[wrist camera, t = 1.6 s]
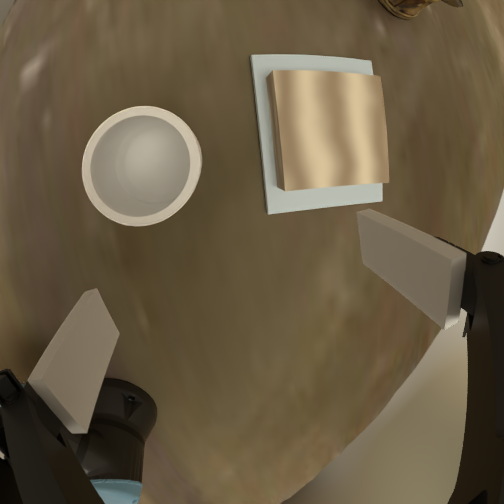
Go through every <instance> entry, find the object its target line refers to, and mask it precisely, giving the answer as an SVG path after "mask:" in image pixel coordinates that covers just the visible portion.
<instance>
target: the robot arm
mask: <svg viewBox="0 0 504 504" xmlns="http://www.w3.org/2000/svg"><path fill="white" fill-rule="evenodd" d="M356 213H357V220H358V228H359V236H360V245H361V254H362V263H363V264H364V265H366V266H367V267H368V268H369V269H371V270H372V271H373V272H375V273H376V274H377V275H378V276H380V277H381V278H382V279H383V280H385V281H386V282H387V283H388V284H390V285H391V286H392V287H393V288H395V289H396V290H397V291H398V292H400V293H401V294H402V295H403V296H405V297H406V298H407V299H408V300H409V301H411V302H412V303H413V304H414V305H415V306H417V307H418V308H419V309H420V310H421V311H423V312H424V313H425V314H426V315H427V316H428V317H430V318H431V319H432V320H433V321H434V322H436V323H437V324H438V325H439V326H440V327H441V328H442V329H444V330H445V329H447V328H449V327H450V326H452V325H454V324H455V323H457V322H458V321H459V315H460V310H461V308H462V309H464V310H465V311H466V312H467V317H466V322H465V328H464V332H463V337H465V335H466V333H467V350H468V394H467V412H466V424H465V433H464V441H463V449H462V455H461V461H460V467H459V473H458V477H457V482H456V486H455V489H454V492H453V493H452V495H451V497H450V499H449V502H448V504H504V257H503V256H502V255H500V254H499V253H496V252H490V251H484V252H480V253H477V254H476V255H474V254H472V253H470V252H468V251H466V250H464V249H462V248H460V247H458V246H455V245H454V244H452V243H450V242H449V243H448V241H446V240H444V239H441V238H439V237H434V236H431V235H428V234H426V233H424V232H422V231H420V230H418V229H415V228H413V227H411V226H409V225H407V224H404V223H402V222H400V221H397V220H395V219H393V218H391V217H388V216H386V215H383V214H381V213H379V212H376V211H374V210H371V209H367V210H363V211H359V212H356ZM119 334H120V333H119V331H118V329H117V328H116V326H115V324H114V322H113V320H112V318H111V316H110V314H109V312H108V310H107V308H106V306H105V304H104V302H103V300H102V298H101V296H100V294H99V292H98V289H97V288H95V289H92V290H89V291H85V292H84V293H83V295H82V296H81V298H80V299H79V300H78V302H77V303H76V305H75V306H74V307H73V309H72V310H71V312H70V313H69V315H68V316H67V318H66V319H65V320H64V322H63V323H62V325H61V326H60V328H59V329H58V331H57V332H56V334H55V336H54V337H53V339H52V340H51V342H50V343H49V345H48V346H47V348H46V350H45V351H44V353H43V355H42V356H41V358H40V359H39V361H38V363H37V364H36V366H35V368H34V370H33V371H32V373H31V375H30V376H29V378H28V380H27V382H26V384H23V383H20V382H19V381H18V380H17V378H16V377H15V375H14V374H13V373H12V371H11V370H10V369H5V370H2V371H0V504H138V502H139V500H140V494H141V488H142V486H143V484H142V471H143V458H144V446H145V441H146V439H147V438H148V436H149V434H150V432H151V431H152V429H153V427H154V425H155V423H156V418H157V407H156V405H155V403H154V401H153V400H152V398H151V397H150V396H149V395H148V394H147V393H146V392H144V391H143V390H141V389H140V388H138V387H136V386H134V385H132V384H130V383H127V382H124V381H121V380H116V379H104V376H105V373H106V370H107V367H108V365H109V362H110V359H111V356H112V353H113V351H114V348H115V345H116V342H117V340H118V337H119Z"/></svg>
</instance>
